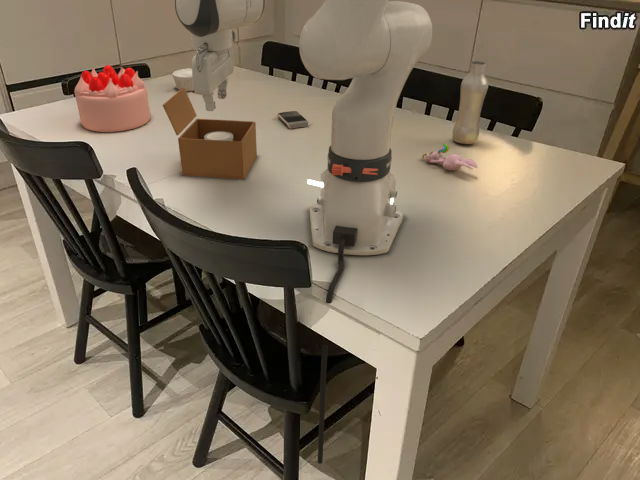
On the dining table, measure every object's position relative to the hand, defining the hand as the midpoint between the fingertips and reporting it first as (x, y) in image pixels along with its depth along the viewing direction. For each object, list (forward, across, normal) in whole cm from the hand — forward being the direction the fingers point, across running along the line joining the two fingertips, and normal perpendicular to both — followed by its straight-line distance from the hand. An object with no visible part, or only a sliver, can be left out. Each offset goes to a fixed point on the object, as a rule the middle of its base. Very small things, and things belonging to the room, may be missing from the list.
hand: (216, 103), depth 127 cm
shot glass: (+15, 0, 0) cm, 15 cm away
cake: (+14, +27, +40) cm, 50 cm away
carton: (+15, 0, 0) cm, 15 cm away
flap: (+2, 0, +9) cm, 9 cm away
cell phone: (+15, +34, -12) cm, 39 cm away
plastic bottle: (+16, +25, -58) cm, 65 cm away
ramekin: (+14, +63, +28) cm, 70 cm away
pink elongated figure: (+16, +7, -53) cm, 56 cm away
